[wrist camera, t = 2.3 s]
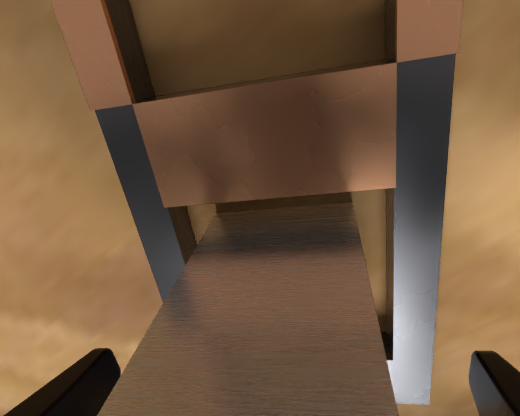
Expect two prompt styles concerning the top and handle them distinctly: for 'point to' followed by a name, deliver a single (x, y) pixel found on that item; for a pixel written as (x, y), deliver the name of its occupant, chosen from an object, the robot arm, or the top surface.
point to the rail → (288, 149)
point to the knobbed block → (265, 325)
